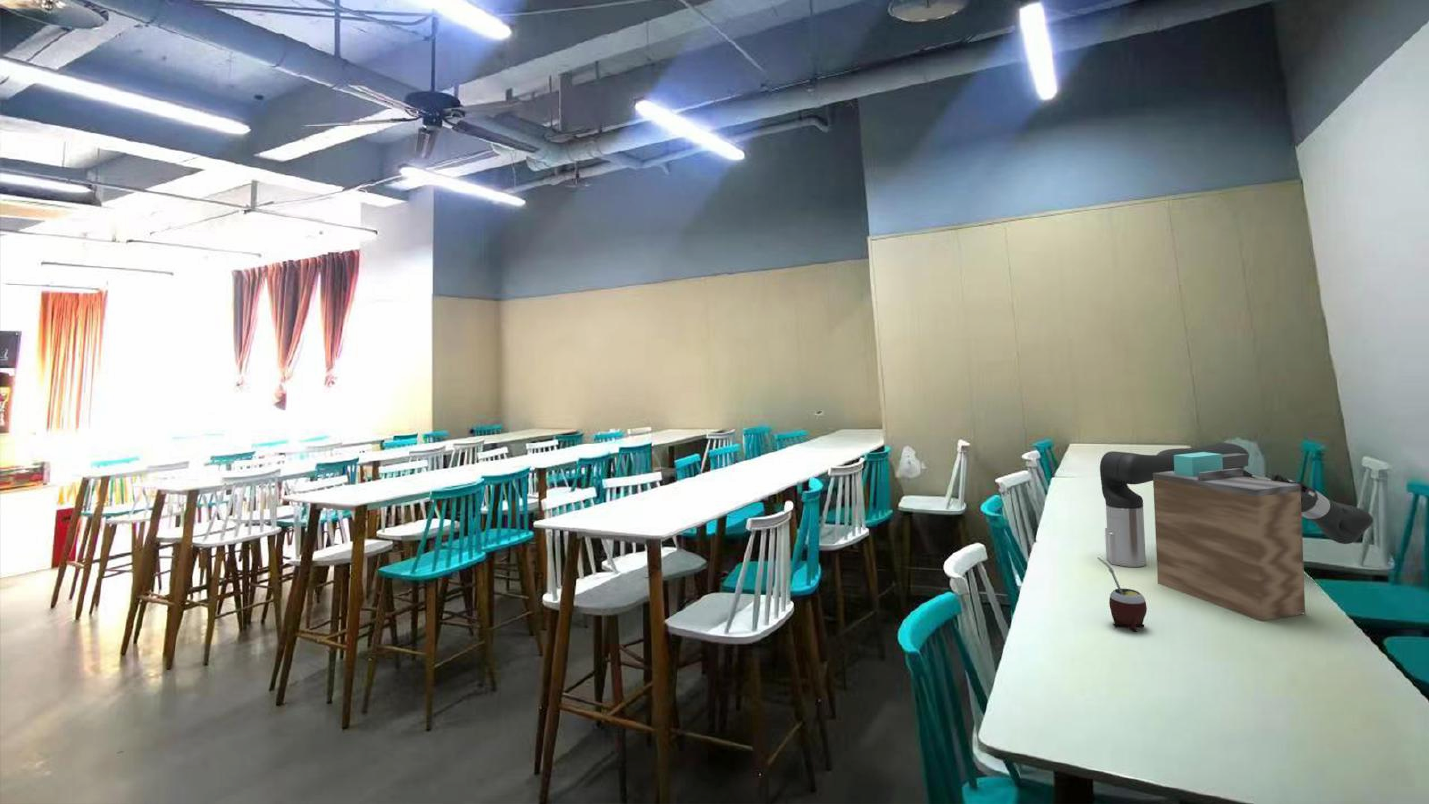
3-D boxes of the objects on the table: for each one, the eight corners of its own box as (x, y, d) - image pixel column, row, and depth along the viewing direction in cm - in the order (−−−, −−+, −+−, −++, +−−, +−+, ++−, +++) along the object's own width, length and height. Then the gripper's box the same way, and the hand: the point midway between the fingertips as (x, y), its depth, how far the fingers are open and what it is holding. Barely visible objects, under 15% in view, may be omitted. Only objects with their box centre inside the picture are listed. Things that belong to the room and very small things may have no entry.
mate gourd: (1154, 633, 131) (1151, 567, 130) (1114, 632, 132) (1111, 567, 132) (1136, 619, 138) (1134, 556, 138) (1099, 619, 140) (1096, 557, 139)
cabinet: (1198, 577, 160) (1193, 461, 159) (1307, 613, 135) (1302, 475, 133) (1157, 583, 158) (1152, 465, 157) (1260, 621, 133) (1255, 481, 132)
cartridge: (1232, 467, 157) (1232, 449, 157) (1252, 470, 152) (1251, 451, 152) (1174, 474, 154) (1173, 455, 154) (1192, 476, 149) (1191, 457, 149)
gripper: (1278, 483, 165) (1234, 458, 162) (1339, 492, 151) (1291, 465, 148) (1267, 507, 164) (1223, 483, 162) (1327, 518, 150) (1280, 492, 148)
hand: (1256, 474), depth 155 cm, fingers open, 8 cm apart
